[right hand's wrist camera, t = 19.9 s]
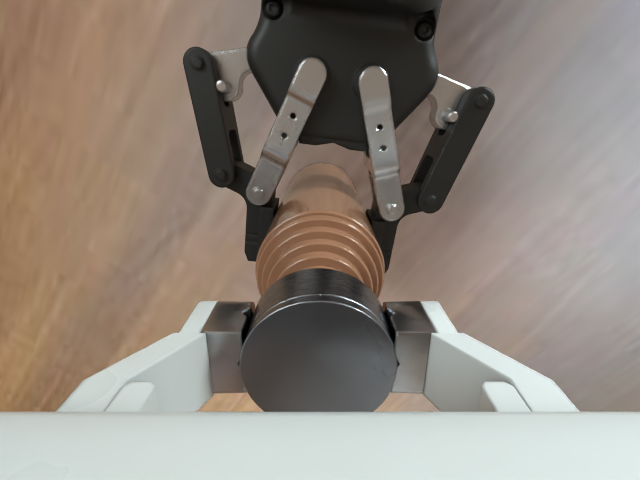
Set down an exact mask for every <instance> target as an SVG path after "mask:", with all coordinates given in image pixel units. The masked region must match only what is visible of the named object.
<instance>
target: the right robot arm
mask: <svg viewBox="0 0 640 480" xmlns="http://www.w3.org/2000/svg"><path fill="white" fill-rule="evenodd" d="M382 308H383V312H384V315H385V318H386V322H387V325H388V328H389V331H390V335H391V338H392V341H393V345H394V348H395V352H396V356H397V374H396V378H395V382H394V384H393V387H392V389H391V392H392V393H424V396H425V397H426V398H427V399H428V400H429V401H430V402H431V403H432V404H433V405H434V406H435V407H437V408H438V409H439V410H440V411H441V412H196V411H198V410H199V409H200V408H201V407H202V406H203V405H204V404H205V403H206V402H207V401H208V400H209V399H210V398H211V397H212V396H213V393H244V392H247V390H246V388H245V386H244V384H243V381H242V378H241V373H240V355H241V350H242V347H243V344H244V341H245V338H246V335H247V332H248V329H249V326H250V324H251V321H252V318H253V315H254V312H255V305H254V302H233V301H219V302H218V301H201V302H199V303H198V304H197V305H196V307H195V308H194V310H193V312H192V313H191V315H190V316H189V318H188V319H187V321H186V322H185V324H184V325H183V327H182V329H181V330H180V332H179V333H172V334H170V335H168V336H166V337H165V338H163V339H161V340H159V341H157V342H155V343H153V344H151V345H149V346H147V347H146V348H144V349H142V350H140V351H138V352H136V353H134V354H132V355H130V356H128V357H127V358H125V359H123V360H121V361H119V362H117V363H115V364H113V365H111V366H109V367H108V368H106V369H104V370H102V371H100V372H98V373H96V374H94V375H92V376H90V377H89V378H87V379H85V380H83V382H82V383H81V384H80V385H79V386H78V387H77V388H76V389H75V391H74V392H73V393H72V394H71V395H70V396H69V397H68V398H67V400H66V401H65V402H64V403H63V404H62V405H61V406H60V407H59V409H58V410H57V411H56V412H0V480H640V412H580V411H579V410H578V409H577V408H576V407H575V405H574V404H573V403H572V402H571V401H570V400H569V399H568V397H567V396H566V395H565V394H564V393H563V392H562V390H561V389H560V388H559V387H558V386H557V385H556V384H555V382H554V381H553V380H551V379H549V378H547V377H545V376H544V375H542V374H540V373H538V372H536V371H534V370H532V369H530V368H529V367H527V366H525V365H523V364H521V363H519V362H517V361H515V360H513V359H512V358H510V357H508V356H506V355H504V354H502V353H500V352H498V351H497V350H495V349H493V348H491V347H489V346H487V345H485V344H483V343H482V342H480V341H478V340H476V339H474V338H472V337H470V336H468V335H467V334H465V333H458V332H457V330H456V329H455V327H454V326H453V324H452V322H451V321H450V319H449V318H448V316H447V315H446V313H445V312H444V310H443V308H442V307H441V305H440V304H439V302H437V301H411V302H384V303H383V307H382Z"/></svg>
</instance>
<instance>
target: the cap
mask: <svg viewBox="0 0 640 480" xmlns="http://www.w3.org/2000/svg"><path fill="white" fill-rule="evenodd" d="M240 373H241V378H242V381H243V384H244V386H245V388H246V390H247V392H248V394H249V395H250V397H251V398H252V400H253V401H254V402H255V403H256V404H257V405H258V406H259V407H260V408H261V409H262V410H263V411H265V412H373V411H374V410H376V409H377V408H378V407H379V406H380V405H381V404H382V403H383V402H384V400H385V399H386V398H387V396H388V395H389V393H390V391H391V389H392V387H393V384H394V382H395V378H396V374H397V356H396V352H395V348H394V345H393V341H392V338H391V335H390V331H389V328H388V325H387V322H386V318H385V315H384V312H383V308H382V306H381V304H380V302H379V300H378V298H377V297H376V295H375V294H374V293H373V292H372V290H371V289H370V288H369V287H368V286H366V285H365V284H364V283H363V282H361V281H360V280H358V279H357V278H355V277H353V276H351V275H349V274H347V273H344V272H341V271H338V270H333V269H326V268H311V269H304V270H300V271H296V272H293V273H291V274H289V275H286V276H284V277H283V278H281V279H279V280H278V281H276V282H275V283H274V284H272V285H271V286H270V287H269V288H268V289H267V290H266V291H265V293H264V294H263V295H262V297H261V298H260V300H259V302H258V304H257V306H256V309H255V312H254V315H253V318H252V321H251V324H250V326H249V329H248V332H247V335H246V338H245V341H244V344H243V347H242V350H241V355H240Z"/></svg>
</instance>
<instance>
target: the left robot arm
mask: <svg viewBox="0 0 640 480" xmlns="http://www.w3.org/2000/svg"><path fill="white" fill-rule="evenodd" d="M441 3H442V0H262V3H261V14H260V18H259V22H258V25H257V27H256V29H255V31H254V33H253V35H252V36H251V38H250V40H249V42H248V45H247V48H239V49H232V50H225V51H217V52H208V51H206V50H204V49H202V48H200V47H192V48H190V49H188V50H187V51H186V52H185V54H184V57H183V64H184V69H185V73H186V78H187V82H188V86H189V91H190V95H191V100H192V104H193V109H194V113H195V117H196V122H197V126H198V131H199V135H200V140H201V144H202V148H203V153H204V157H205V162H206V166H207V171H208V175H209V178H210V180H211V182H212V183H213V184H214V185H216V186H217V187H227V188H229V189H231V190H233V191H235V192H237V193H239V194H240V195H241V196H242V197H243V198H244V199H245V201H246V204H247V218H246V236H245V254H246V256H247V259H248V261H256V259H257V255H258V252H259V249H260V247H261V244H262V242H263V240H264V238H265V236H266V234H267V231H268V229H269V227H270V225H271V223H272V221H273V219H274V216H275V214H276V212H277V210H278V206H279V198H275V193H276V188H277V186H278V184H279V181H280V179H281V177H282V175H283V173H284V171H285V169H286V167H287V164H288V162H289V160H290V158H291V156H292V154H293V152H294V150H295V148H296V146H297V144H298V142H299V143H302V144H310V145H320V144H327V143H335V144H338V145H340V146H342V147H345V148H347V149H350V150H357V151H363V154H364V159H365V164H366V167H367V171H368V176H369V182H370V187H371V192H372V198H373V202H372V208H371V210H369V209H367V210H366V215H367V218H368V220H369V223H370V225H371V227H372V230H373V232H374V234H375V237H376V239H377V241H378V244H379V246H380V249H381V251H382V255H383V258H384V265H385V273H386V271H387V270H388V268H389V263H390V257H391V253H392V248H393V243H394V239H395V234H396V229H397V225H398V223H399V221H400V220H401V219H402V218H403V217H404V216H406V215H408V214H412V213H417V212H422V211H423V212H425V213H434V212H436V211H438V210H439V209H440V208H441V207H442V205H443V203H444V201H445V199H446V197H447V195H448V193H449V191H450V189H451V187H452V185H453V183H454V182H455V180H456V178H457V176H458V174H459V172H460V170H461V168H462V166H463V164H464V162H465V160H466V158H467V156H468V154H469V152H470V150H471V148H472V146H473V144H474V143H475V141H476V139H477V137H478V135H479V133H480V131H481V129H482V127H483V125H484V123H485V121H486V119H487V117H488V115H489V113H490V111H491V109H492V107H493V105H494V101H495V97H494V94H493V92H492V90H491V89H489V88H487V87H473V88H471V87H468V86H465V85H463V84H461V83H459V82H456V81H454V80H452V79H449V78H447V77H445V76H443V75H440V74H438V63H437V60H436V56H435V51H434V36H435V31H436V27H437V22H438V17H439V13H440V8H441ZM250 73H253V75H254V77H255V79H256V81H257V82H258V84H259V86H260V88H261V89H262V91H263V93H264V95H265V97H266V98H267V100H268V102H269V104H270V105H271V107H272V109H273V111H274V113H275V114H276V116H277V118H276V120H275V122H274V124H273V127H272V129H271V131H270V134H269V136H268V138H267V140H266V143H265V145H264V147H263V150H262V153H261V157H260V159H259V161H258V164H257V166H256V168H254V167H252V166H250V165H248V164H246V163H244V160H243V155H242V150H241V144H240V139H239V134H238V129H237V123H236V118H235V113H234V108H233V102H235V101H237V100H239V99H240V97H241V96H242V93H243V82H244V79H245V78H246V76H247V75H249V74H250ZM426 97H427V98H428V99H429V100H430V102H431V112H430V116H429V120H430V123H431V125H432V126H433V127H434V128H435V131H434V133H433V135H432V137H431V139H430V141H429V143H428V146H427V148H426V150H425V152H424V154H423V156H422V158H421V160H420V163H419V165H418V167H417V169H416V171H415V173H414V175H413V177H412V180H411V182H410V183H409V184H404V185H401V182H400V175H399V171H400V162H399V156H398V149H397V142H396V136H395V129H396V128H397V127H398V126H399V125H400V124H401V123H402V122H403V121H404V120H405V119H406V118H407V117H408V116H409V115H410V114H411V113H412V111H413V110H414V109H415V108H416V107H417V106H418V105H419V104H420V103H421V102H422V101H423V100H424V99H425V98H426Z"/></svg>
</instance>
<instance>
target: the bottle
mask: <svg viewBox="0 0 640 480" xmlns="http://www.w3.org/2000/svg"><path fill="white" fill-rule="evenodd" d="M311 268H326V269H333V270H338V271H341V272H344V273H347V274H349V275H351V276H353V277H355V278H357V279H358V280H360V281H361V282H363V283H364V284H365V285H366V286H368V287H369V288H370V289H371V290H372V292H373V293H374V294H375V295H376V297H377V298H379V296H380V293H381V290H382V285H383V281H384V274H385V265H384V258H383V255H382V251H381V249H380V246H379V244H378V241H377V239H376V237H375V234H374V232H373V230H372V227H371V225H370V223H369V220H368V218H367V215H366V213H365V211H364V208H363V206H362V204H361V201H360V199H359V197H358V194H357V192H356V189H355V187H354V185H353V183H352V181H351V179H350V177H349V176H348V175H347V174H346V173H345V172H344V171H343V170H342V169H340V168H338V167H336V166H334V165H331V164H327V163H316V164H311V165H308V166H306V167H304V168H303V169H301V170H300V171H299V172H297V173H296V175H295V176H294V177H293V178H292V180H291V182H290V184H289V186H288V188H287V191H286V193H285V195H284V197H283V199H282V201H281V203H280V206H279V208H278V210H277V212H276V214H275V216H274V219H273V221H272V223H271V225H270V227H269V229H268V231H267V234H266V236H265V238H264V240H263V242H262V244H261V247H260V249H259V252H258V255H257V259H256V279H257V285H258V289H259V293H260V295H261V297H262V295H263V294H264V293H265V291H266V290H267V289H268V288H269V287H270V286H271V285H272V284H274V283H275V282H276V281H278V280H279V279H281V278H283V277H284V276H286V275H289V274H291V273H293V272H296V271H300V270H304V269H311Z"/></svg>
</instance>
